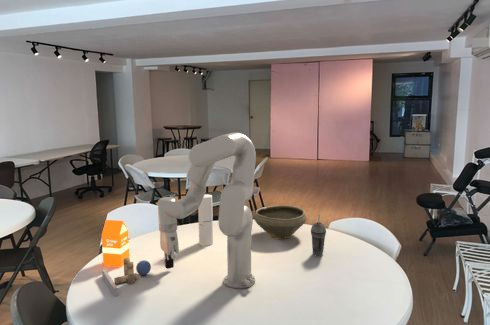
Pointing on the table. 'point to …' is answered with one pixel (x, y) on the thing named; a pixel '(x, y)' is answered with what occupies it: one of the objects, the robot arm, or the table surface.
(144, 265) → the ball
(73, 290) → the table surface
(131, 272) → the pin
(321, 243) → the beverage cup
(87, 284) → the table surface
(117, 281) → the pin front
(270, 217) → the bowl
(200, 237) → the cylindrical container
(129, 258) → the pin
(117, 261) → the orange juice
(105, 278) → the rail
